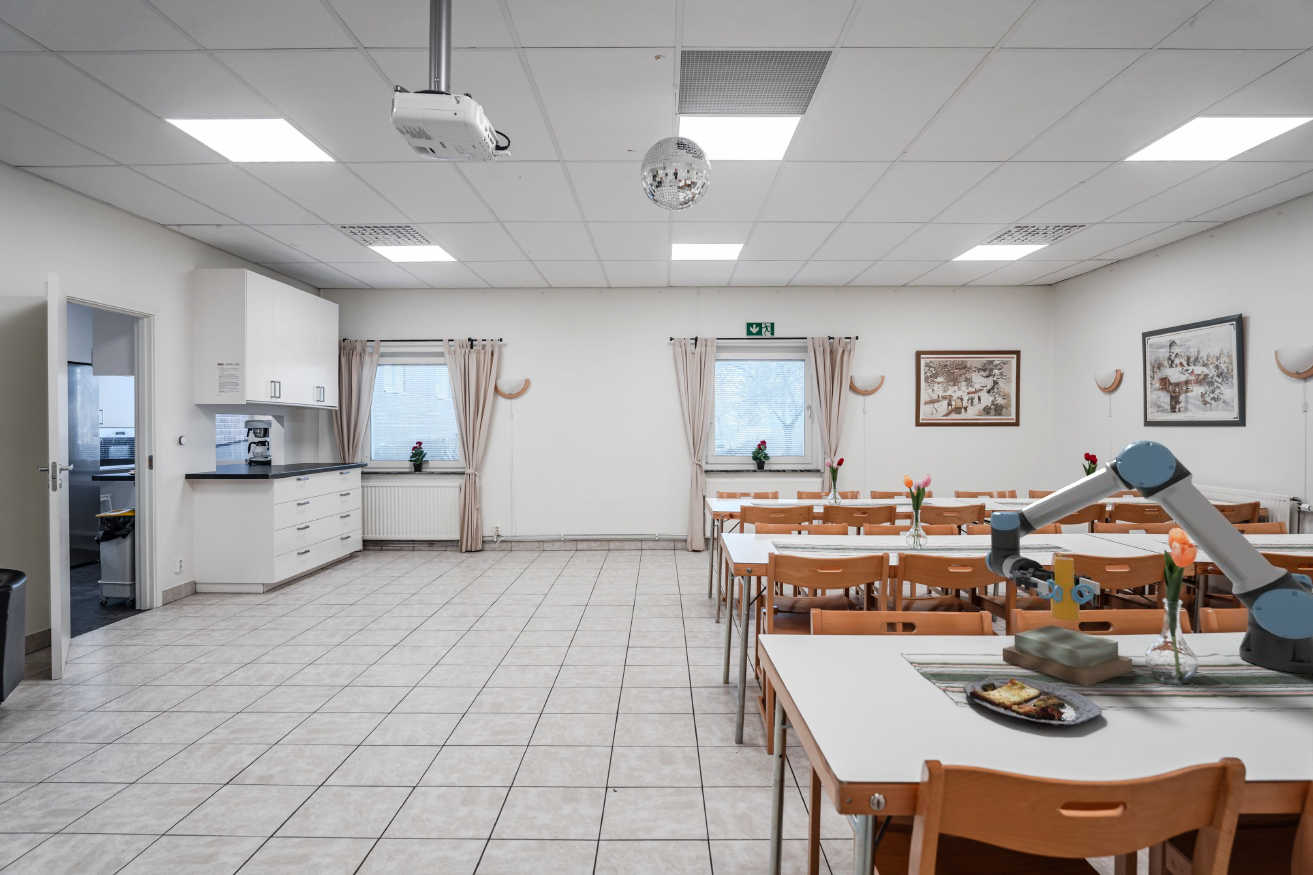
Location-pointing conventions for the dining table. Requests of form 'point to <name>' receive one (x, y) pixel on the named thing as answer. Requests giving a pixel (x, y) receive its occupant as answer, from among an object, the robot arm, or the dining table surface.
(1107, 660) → the plinth
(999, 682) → the food plate
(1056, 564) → the upright yellow plank
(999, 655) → the dining table surface
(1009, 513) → the robot arm
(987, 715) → the dining table surface
